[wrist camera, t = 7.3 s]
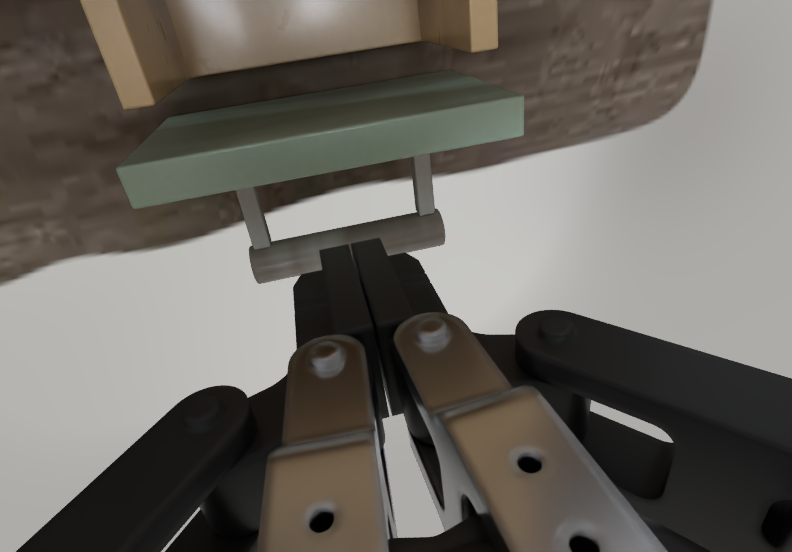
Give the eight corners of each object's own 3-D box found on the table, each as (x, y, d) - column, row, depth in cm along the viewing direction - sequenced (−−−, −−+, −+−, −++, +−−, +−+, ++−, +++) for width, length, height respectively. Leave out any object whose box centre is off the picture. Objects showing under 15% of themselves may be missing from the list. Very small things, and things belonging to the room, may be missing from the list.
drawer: (460, 195, 22) (523, 260, 17) (213, 244, 21) (187, 334, 15) (430, -299, 14) (532, -508, 9) (27, -269, 13) (-174, -489, 7)
